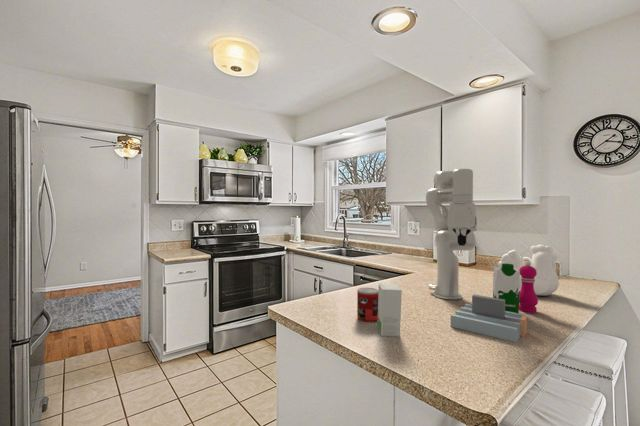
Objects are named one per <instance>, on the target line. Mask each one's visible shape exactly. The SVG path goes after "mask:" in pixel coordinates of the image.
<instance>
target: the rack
mask: <svg viewBox="0 0 640 426" xmlns="http://www.w3.org/2000/svg"><path fill="white" fill-rule="evenodd" d="M450 327H451V328H455V329H458V330H459V329H460V330H463V331H468V332H471V333H476V334H481V335H485V336H489V337H492V338H498V339H502V340H506V341H511V342H513V343H514V342H515V343H518V340H520V337H522V338H525V337H526V335H527V333H528V315H526V314H524V313H520V312H519V313H514V312H509V311H505V320H502V319H497V318H492V317H487V316H483V315H478V314H473V313H472V303H471V304H470V303H465V304H464V306H461V307H460V310H456V311H455V314H453V313H452V314H450Z"/></svg>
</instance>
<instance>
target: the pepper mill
mask: <svg viewBox="0 0 640 426" xmlns="http://www.w3.org/2000/svg"><path fill="white" fill-rule="evenodd" d="M524 263H525V265H526V266H522V267H521V268H520V269H519V271H520V275H521V277H520V278H521V281H522V287H521V290H520V298H519V312H523V313H528V314H535V313H537V310H538V309H537V307H536V306H537V305H538V303H539V298H538V295H536V294H535V291H534V282H535V278H534V277H535V276H536V274H537V272H536V269H535V268H533V267H531V266H530V263H529V262H528V261H527V262H524Z"/></svg>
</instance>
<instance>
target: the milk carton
mask: <svg viewBox="0 0 640 426" xmlns="http://www.w3.org/2000/svg"><path fill="white" fill-rule="evenodd" d="M492 274H493V278H492V280H493V281H492V293H493V294H492V298H498V299H504V300H505V311H509V312H514V313H519V314H520V310H519V304H520V303H519V298H520V271H519V270H517V269H515V268H514V265H513V264H502V267H499V266H493V273H492Z"/></svg>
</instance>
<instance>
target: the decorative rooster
mask: <svg viewBox="0 0 640 426" xmlns="http://www.w3.org/2000/svg"><path fill="white" fill-rule="evenodd" d="M553 251H554V250H553V247H552V246H550V245H546V244H537V245H532V246H530V252H531V253H532V257H528V256H523V257H522V256H521V254H520V253H519V251H518V250H517V249H512V250H508V252H507V253H504V254H503V255H502V257H501V258H500V260H499V262H498V264H497V265H498V266H497V267H502V264H513V265H514V268H515V269H517V270H519V269H520V268H521V267H522V266H526V265H525V263H526V262H525V261H529V263H530V266H531V267H533V268H535V269H536V272H537V274H536V276H535V277H534V278H535V282H534V291H535V294H536V296H549V295H551V294H553V293H555V292H556V291H557V290H558V288H559V283H560V282H559V275H558V274H557V271H556V270H557V265H556V264H557V261H556V260H558V259H559V255H557V254H554V252H553ZM520 277H521V275H520ZM521 287H522V281H521V278H520V290H521Z"/></svg>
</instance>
